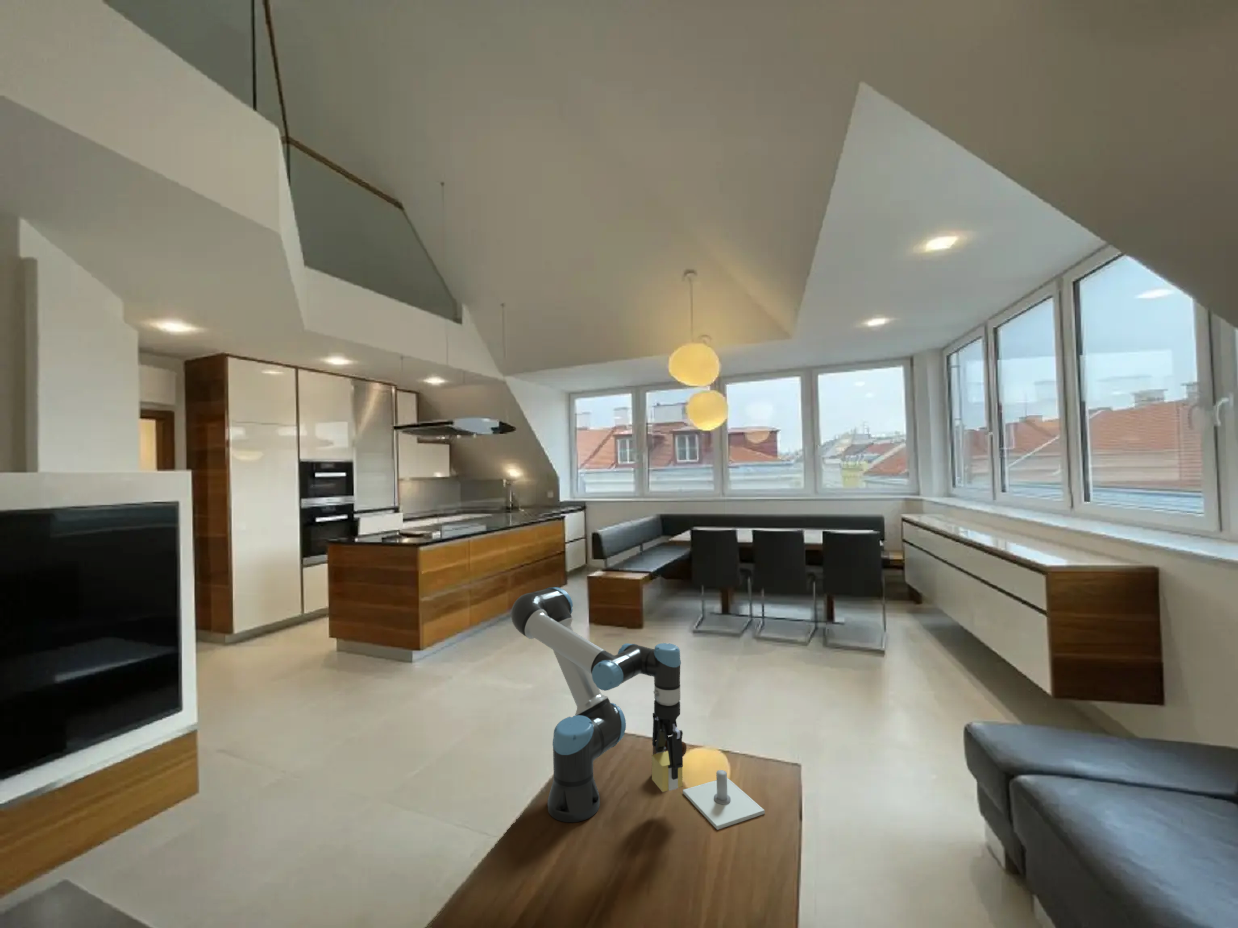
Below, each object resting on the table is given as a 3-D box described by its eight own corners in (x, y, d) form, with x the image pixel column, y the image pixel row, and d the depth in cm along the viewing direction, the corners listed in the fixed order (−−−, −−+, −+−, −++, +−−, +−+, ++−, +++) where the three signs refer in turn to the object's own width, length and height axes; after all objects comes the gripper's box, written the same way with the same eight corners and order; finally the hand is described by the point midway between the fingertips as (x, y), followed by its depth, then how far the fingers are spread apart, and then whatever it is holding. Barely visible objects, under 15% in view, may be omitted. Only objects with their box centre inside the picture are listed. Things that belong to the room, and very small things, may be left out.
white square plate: (682, 793, 151) (682, 763, 152) (726, 780, 158) (726, 752, 158) (717, 829, 135) (716, 796, 135) (764, 813, 141) (763, 782, 142)
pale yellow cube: (652, 779, 145) (652, 754, 145) (671, 774, 148) (671, 750, 148) (662, 791, 139) (662, 766, 140) (682, 786, 142) (682, 761, 142)
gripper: (640, 689, 152) (640, 766, 151) (672, 717, 134) (672, 805, 133) (662, 685, 155) (662, 761, 154) (696, 712, 137) (696, 798, 136)
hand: (666, 781), depth 144 cm, fingers closed on pale yellow cube, 6 cm apart
